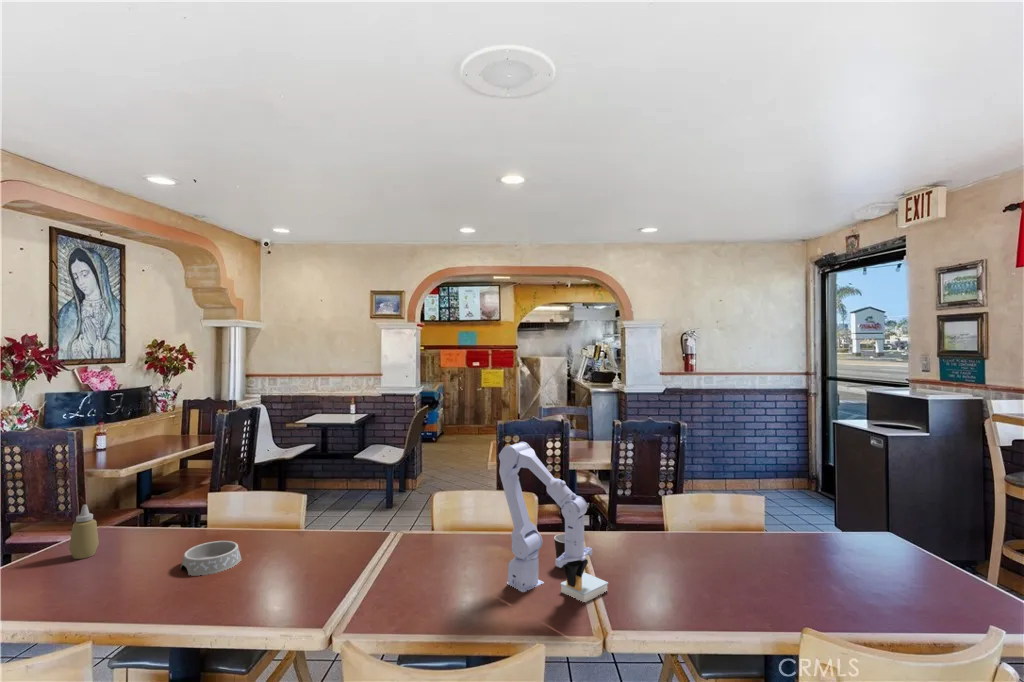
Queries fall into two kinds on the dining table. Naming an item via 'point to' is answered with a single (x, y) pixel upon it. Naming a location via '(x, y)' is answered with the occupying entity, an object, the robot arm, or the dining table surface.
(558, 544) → the coffee mug
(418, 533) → the dining table surface
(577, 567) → the robot arm
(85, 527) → the squeeze bottle
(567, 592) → the tub
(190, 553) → the dog bowl
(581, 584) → the lid
